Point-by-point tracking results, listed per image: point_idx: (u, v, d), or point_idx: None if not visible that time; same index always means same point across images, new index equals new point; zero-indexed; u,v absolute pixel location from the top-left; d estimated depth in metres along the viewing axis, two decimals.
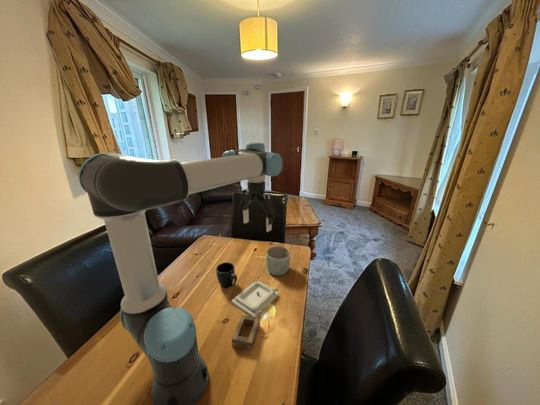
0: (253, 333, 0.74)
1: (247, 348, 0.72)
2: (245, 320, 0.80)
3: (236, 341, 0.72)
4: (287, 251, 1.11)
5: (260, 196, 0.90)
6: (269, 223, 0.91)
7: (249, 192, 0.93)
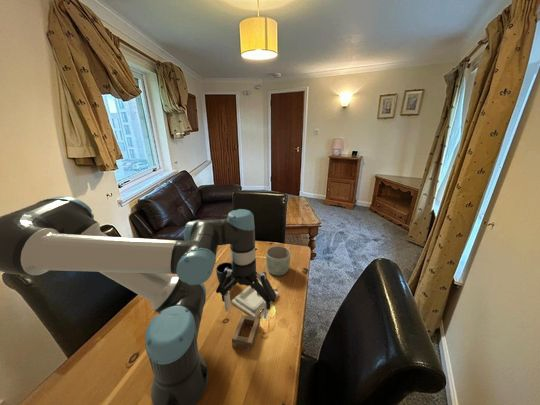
0: (253, 333, 0.74)
1: (247, 348, 0.72)
2: (245, 320, 0.80)
3: (236, 341, 0.72)
4: (287, 251, 1.11)
5: (253, 278, 0.67)
6: (267, 308, 0.70)
7: (234, 274, 0.68)
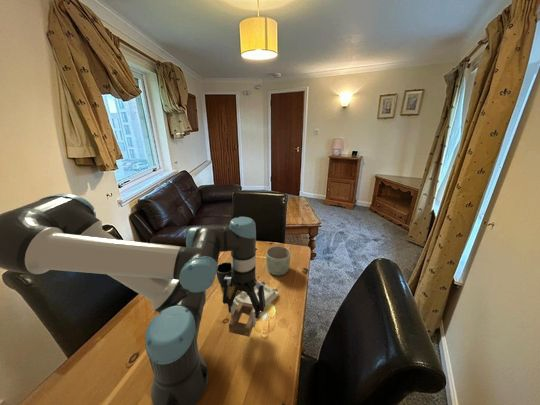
0: (251, 319, 0.72)
1: (244, 334, 0.70)
2: (243, 307, 0.78)
3: (233, 327, 0.70)
4: (287, 251, 1.11)
5: (251, 285, 0.68)
6: (256, 317, 0.72)
7: (233, 280, 0.69)
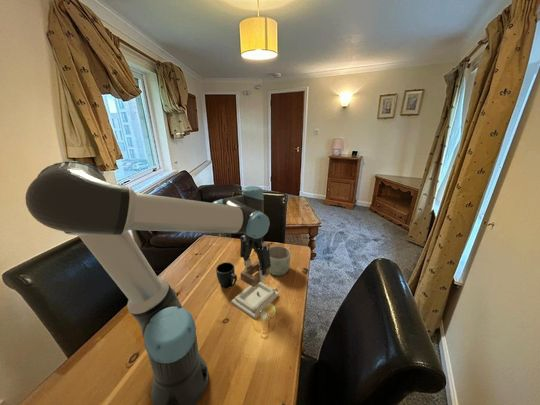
0: (258, 274, 0.86)
1: (250, 284, 0.85)
2: (257, 265, 0.92)
3: (243, 276, 0.86)
4: (287, 251, 1.11)
5: (258, 244, 0.81)
6: (262, 274, 0.85)
7: (246, 238, 0.85)
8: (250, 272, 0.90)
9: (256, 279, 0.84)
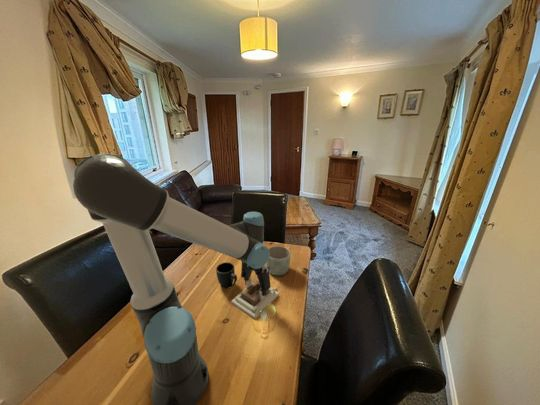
0: (258, 295, 0.89)
1: (251, 304, 0.88)
2: (258, 285, 0.96)
3: (244, 296, 0.89)
4: (287, 251, 1.11)
5: None
6: (262, 294, 0.88)
7: None
8: (251, 292, 0.93)
9: (256, 300, 0.88)
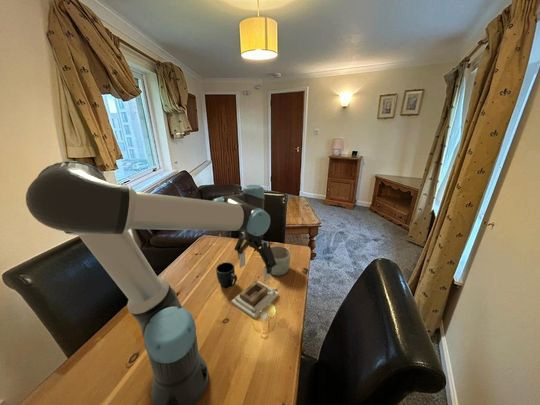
0: (257, 296, 0.89)
1: None
2: (256, 286, 0.95)
3: (242, 297, 0.89)
4: (287, 251, 1.11)
5: (258, 243, 0.81)
6: (267, 272, 0.82)
7: (246, 237, 0.85)
8: (249, 292, 0.93)
9: (255, 301, 0.87)
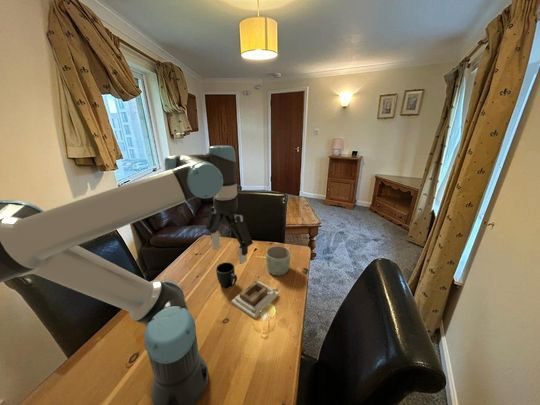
0: (257, 296, 0.89)
1: None
2: (256, 286, 0.95)
3: (242, 297, 0.89)
4: (287, 251, 1.11)
5: (230, 218, 0.67)
6: (243, 253, 0.68)
7: (217, 211, 0.70)
8: (249, 292, 0.93)
9: (255, 301, 0.87)
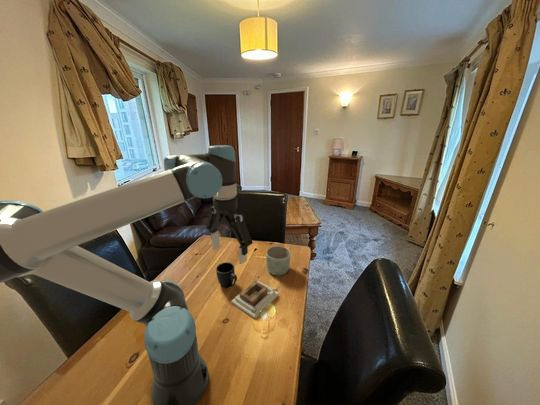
0: (257, 296, 0.89)
1: None
2: (256, 286, 0.95)
3: (242, 297, 0.89)
4: (287, 251, 1.11)
5: (230, 217, 0.67)
6: (243, 253, 0.68)
7: (217, 211, 0.70)
8: (249, 292, 0.93)
9: (255, 301, 0.87)
